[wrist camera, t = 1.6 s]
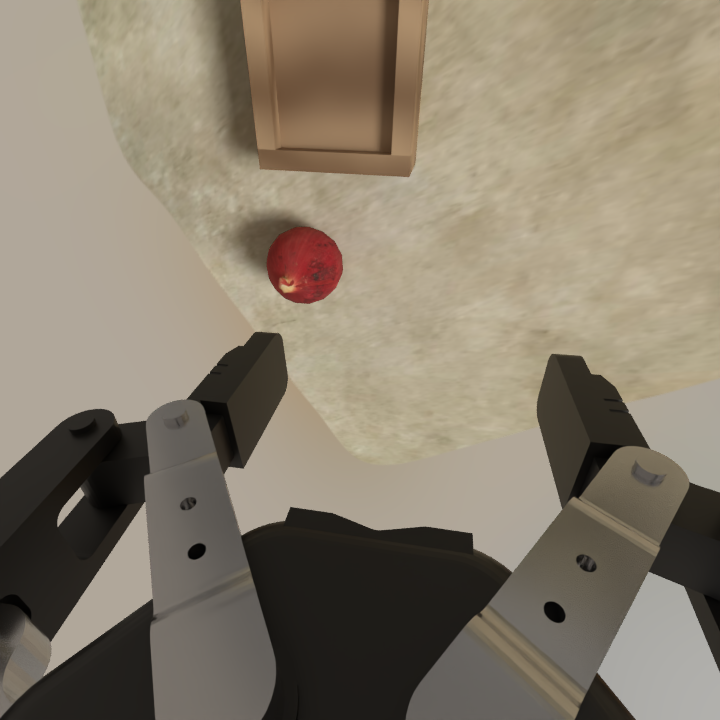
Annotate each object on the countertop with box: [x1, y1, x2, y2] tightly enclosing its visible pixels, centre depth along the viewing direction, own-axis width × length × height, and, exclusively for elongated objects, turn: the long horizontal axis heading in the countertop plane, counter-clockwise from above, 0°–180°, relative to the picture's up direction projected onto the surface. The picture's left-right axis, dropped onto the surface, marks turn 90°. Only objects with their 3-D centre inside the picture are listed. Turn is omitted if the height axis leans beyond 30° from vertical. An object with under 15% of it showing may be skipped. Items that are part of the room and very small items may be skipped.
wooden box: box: [240, 0, 429, 177], centre depth 26 cm, size 10×10×5 cm
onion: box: [267, 227, 343, 304], centre depth 32 cm, size 6×6×8 cm
